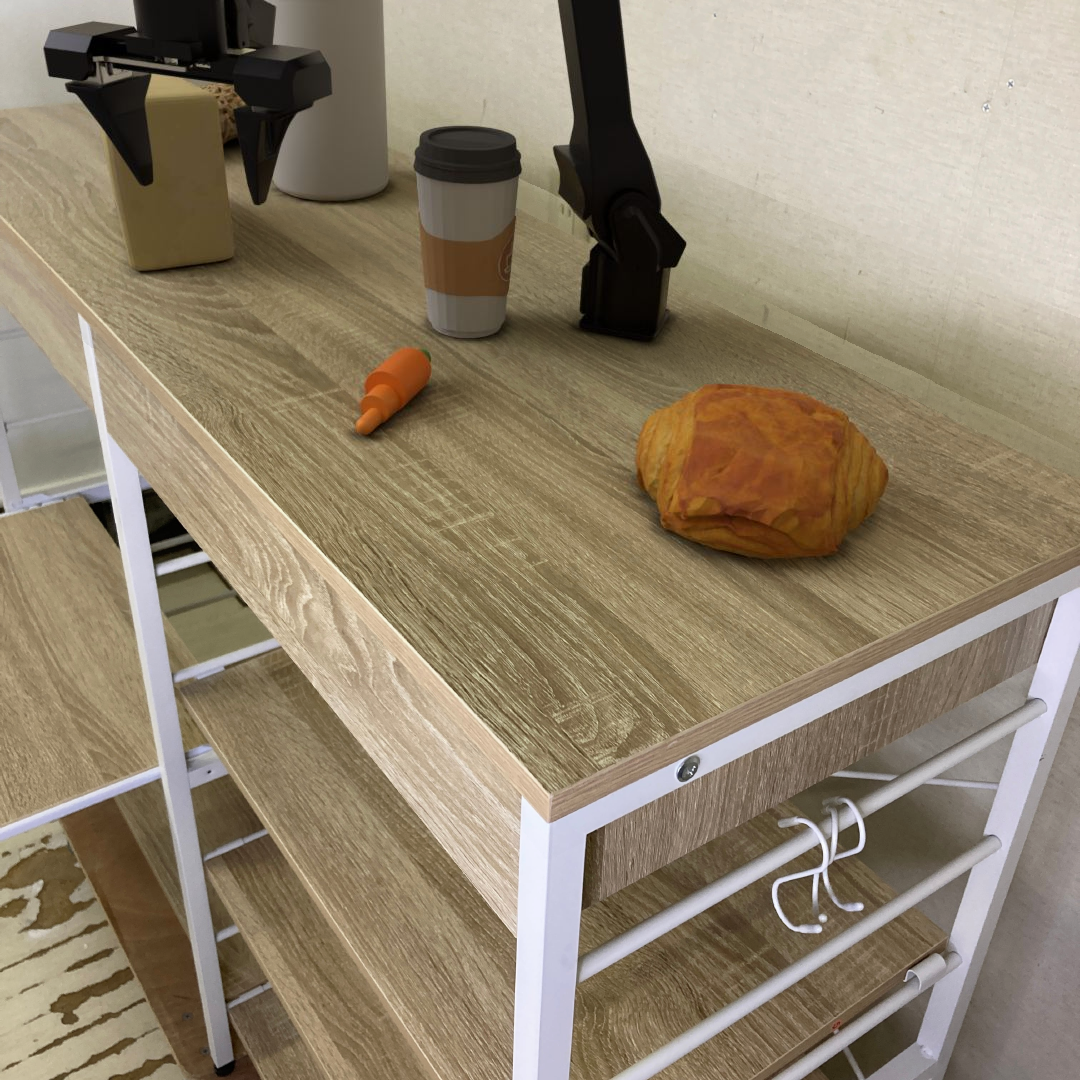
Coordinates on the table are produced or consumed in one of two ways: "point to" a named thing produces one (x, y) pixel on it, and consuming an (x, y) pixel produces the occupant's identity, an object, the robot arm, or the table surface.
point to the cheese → (175, 182)
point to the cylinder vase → (337, 102)
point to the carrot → (393, 386)
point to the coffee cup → (467, 225)
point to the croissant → (759, 471)
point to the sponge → (226, 108)
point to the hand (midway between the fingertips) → (202, 194)
